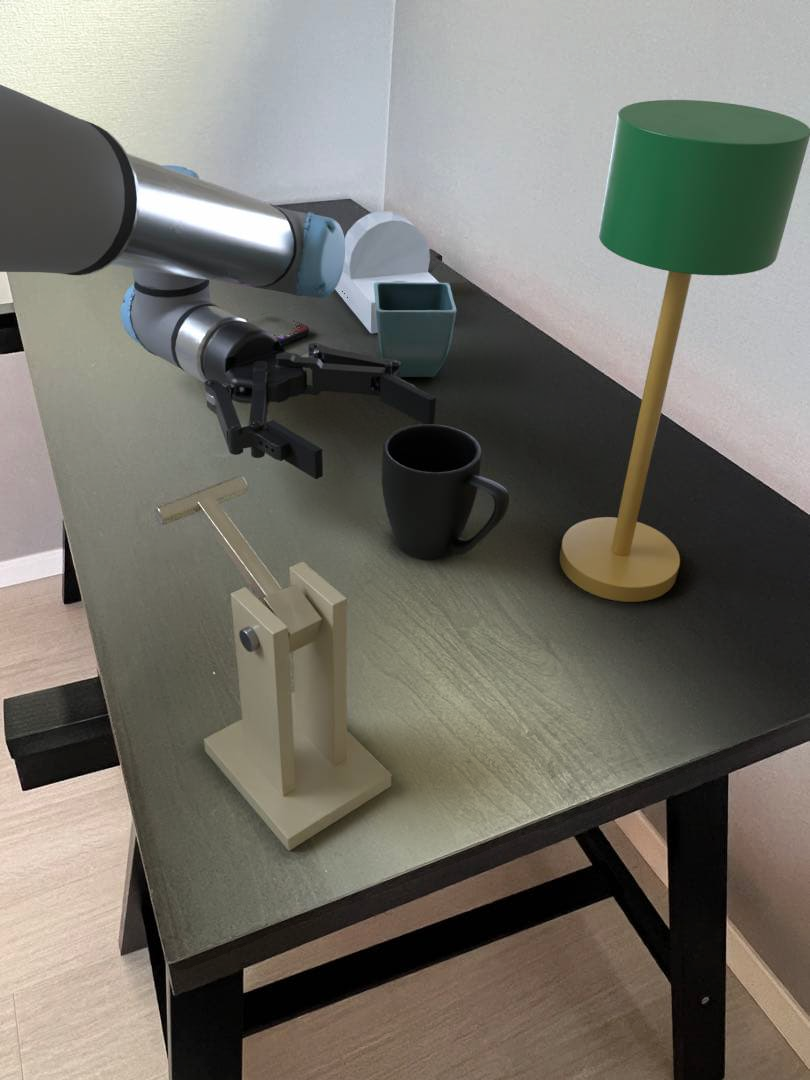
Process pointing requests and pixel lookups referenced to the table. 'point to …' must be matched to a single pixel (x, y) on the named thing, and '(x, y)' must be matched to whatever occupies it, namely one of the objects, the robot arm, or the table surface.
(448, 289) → the flower pot
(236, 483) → the switch
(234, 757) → the beige wooden upright stand
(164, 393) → the table surface
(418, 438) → the mug
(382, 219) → the tape dispenser
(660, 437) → the table surface
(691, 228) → the lamp
